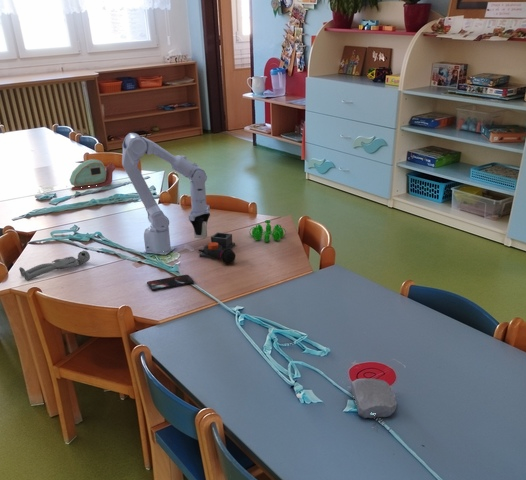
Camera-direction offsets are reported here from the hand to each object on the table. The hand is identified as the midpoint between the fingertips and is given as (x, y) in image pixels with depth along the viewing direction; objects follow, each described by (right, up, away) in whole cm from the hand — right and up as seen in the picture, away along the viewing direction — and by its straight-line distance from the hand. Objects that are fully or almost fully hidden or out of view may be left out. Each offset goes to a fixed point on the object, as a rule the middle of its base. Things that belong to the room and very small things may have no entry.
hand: (200, 233), depth 228 cm
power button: (+6, -7, -8) cm, 12 cm away
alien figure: (-50, -18, -19) cm, 56 cm away
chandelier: (+27, 0, +10) cm, 28 cm away
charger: (0, -1, +1) cm, 2 cm away
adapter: (+7, -8, -3) cm, 11 cm away
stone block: (+51, -59, -90) cm, 120 cm away
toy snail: (-66, +41, +80) cm, 111 cm away
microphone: (+7, -10, -11) cm, 16 cm away
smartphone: (-7, -23, -30) cm, 38 cm away
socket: (+8, -6, 0) cm, 10 cm away
